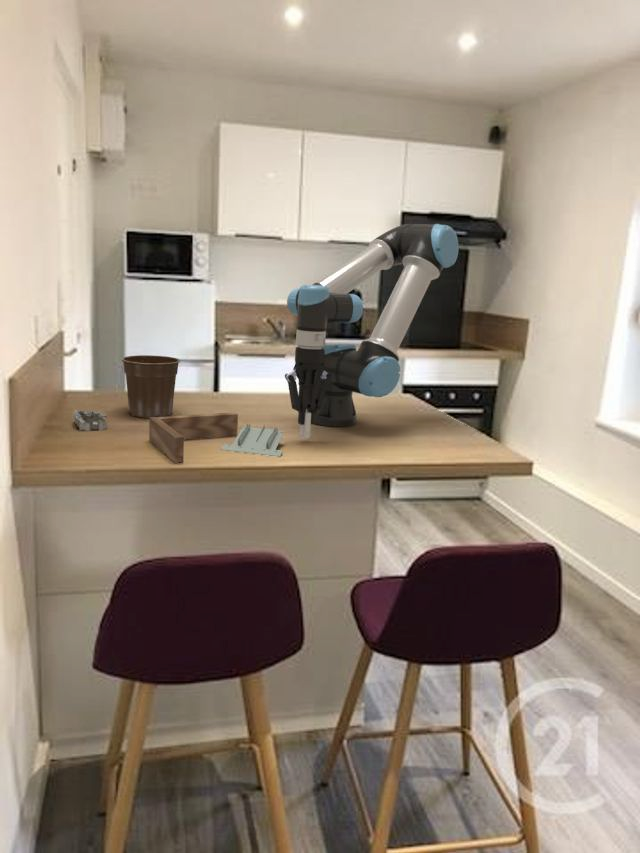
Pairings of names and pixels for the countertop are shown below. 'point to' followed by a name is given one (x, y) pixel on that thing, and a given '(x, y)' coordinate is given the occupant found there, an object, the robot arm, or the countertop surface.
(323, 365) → the robot arm
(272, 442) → the metal bracket
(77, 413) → the egg carton
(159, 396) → the plant pot
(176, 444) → the wooden corner frame
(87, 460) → the countertop surface
